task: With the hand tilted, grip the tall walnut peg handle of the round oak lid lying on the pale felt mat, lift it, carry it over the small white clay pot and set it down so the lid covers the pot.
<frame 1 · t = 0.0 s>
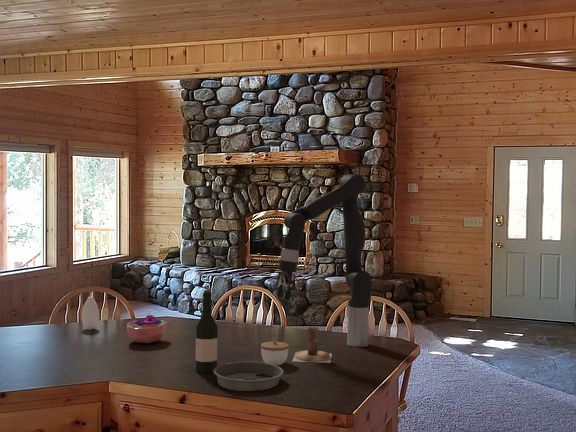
hand: (283, 298, 280), 22 cm above the kitchen island, tool pointing down, fingers open, 8 cm apart
lidded jar: (274, 364, 259), on the kitchen island
cell model: (146, 342, 292), on the kitchen island
cake pan: (248, 383, 235), on the kitchen island
mat: (312, 358, 270), on the kitchen island
lid: (312, 357, 270), resting on mat
sauce bottle: (90, 329, 316), on the kitchen island
wine bottle: (206, 370, 249), on the kitchen island
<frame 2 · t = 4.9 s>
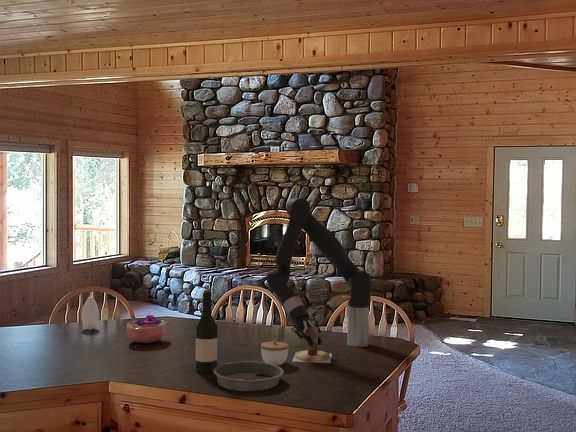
hand: (316, 344, 268), 6 cm above the kitchen island, tool tilted 45°, fingers closed on lid, 4 cm apart
lid: (312, 357, 270), resting on mat, touching gripper
everything else where it was.
when the fingers open (16 cm above the kitchen island, at t = 9.3 s): lid stays where it is, resting on lidded jar.
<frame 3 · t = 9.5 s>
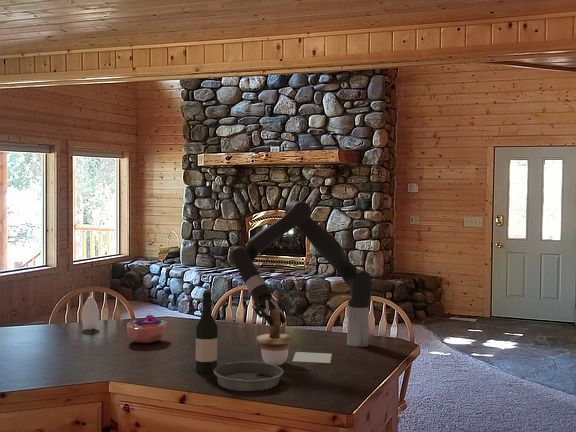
hand: (278, 323, 257), 16 cm above the kitchen island, tool tilted 45°, fingers open, 5 cm apart
lidded jar: (274, 364, 259), on the kitchen island, touching lid
lid: (274, 340, 259), point 9 cm above the kitchen island, touching lidded jar
everything else where it was.
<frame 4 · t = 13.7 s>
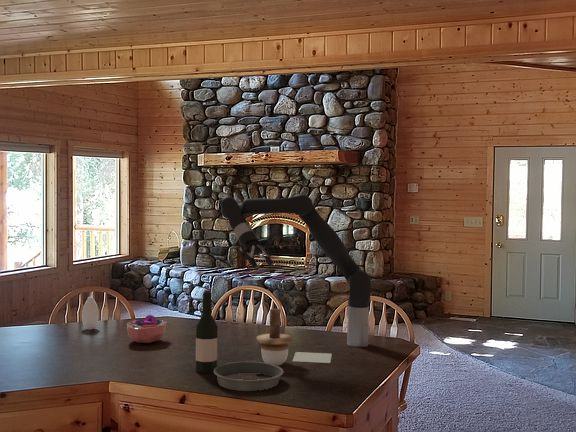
hand: (263, 265, 273), 37 cm above the kitchen island, tool tilted 45°, fingers open, 8 cm apart
nothing on the kitchen island moved.
at the end: lid 0.2 cm from the lidded jar (horizontally); lid point 9.4 cm above the kitchen island; lid tilted 0° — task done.
